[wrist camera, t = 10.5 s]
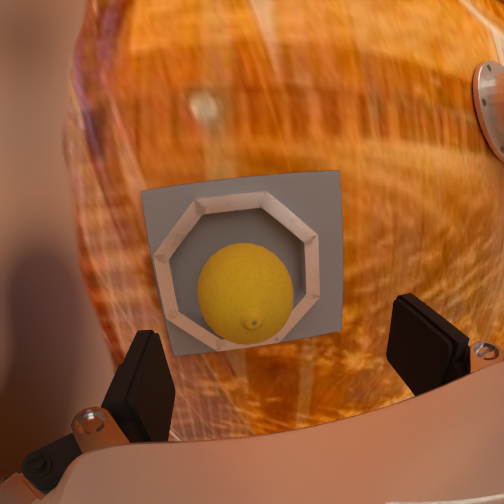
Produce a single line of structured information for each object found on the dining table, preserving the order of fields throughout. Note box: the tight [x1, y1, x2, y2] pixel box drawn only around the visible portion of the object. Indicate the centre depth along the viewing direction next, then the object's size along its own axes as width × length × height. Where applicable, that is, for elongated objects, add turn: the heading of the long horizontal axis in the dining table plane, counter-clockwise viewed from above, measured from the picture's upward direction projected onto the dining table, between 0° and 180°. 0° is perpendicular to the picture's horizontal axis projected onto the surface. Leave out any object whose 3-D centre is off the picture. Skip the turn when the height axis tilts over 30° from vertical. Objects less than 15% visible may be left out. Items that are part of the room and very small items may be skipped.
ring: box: [153, 190, 320, 351], centre depth 20 cm, size 11×11×2 cm
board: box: [141, 171, 343, 356], centre depth 22 cm, size 14×13×1 cm
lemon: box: [197, 243, 294, 345], centre depth 17 cm, size 6×6×8 cm
